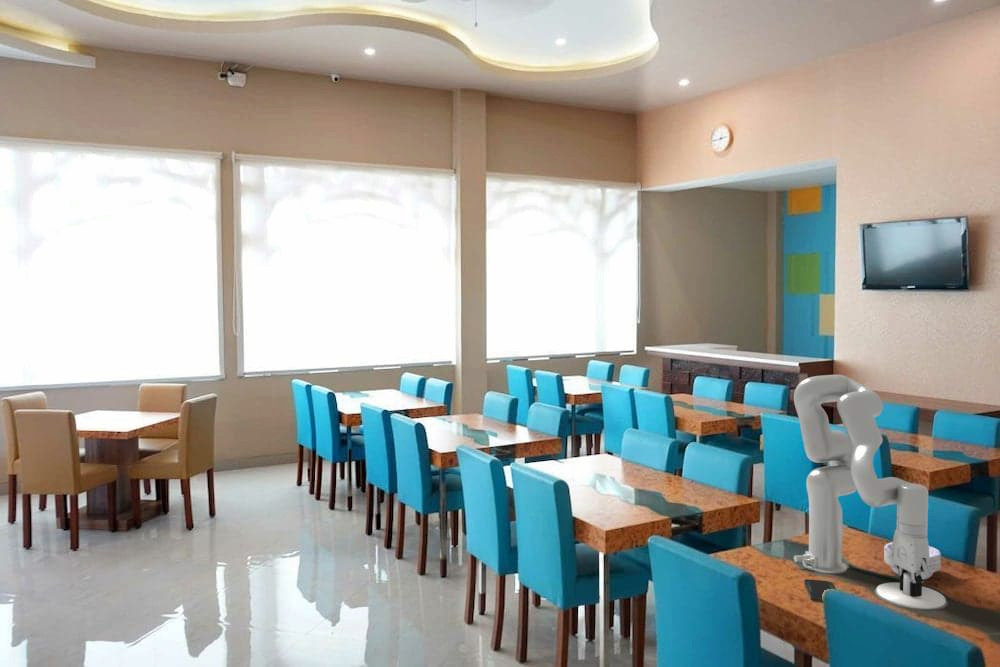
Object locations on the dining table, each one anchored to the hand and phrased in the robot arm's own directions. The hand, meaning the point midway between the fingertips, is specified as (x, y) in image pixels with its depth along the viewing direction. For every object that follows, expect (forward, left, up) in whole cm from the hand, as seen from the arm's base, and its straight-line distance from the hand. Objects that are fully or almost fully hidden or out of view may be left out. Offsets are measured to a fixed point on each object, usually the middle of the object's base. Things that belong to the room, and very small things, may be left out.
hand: (910, 592), depth 212 cm
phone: (-22, +8, -2) cm, 24 cm away
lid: (0, 0, -1) cm, 1 cm away
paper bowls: (+13, +17, -2) cm, 21 cm away
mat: (0, 0, -2) cm, 2 cm away
